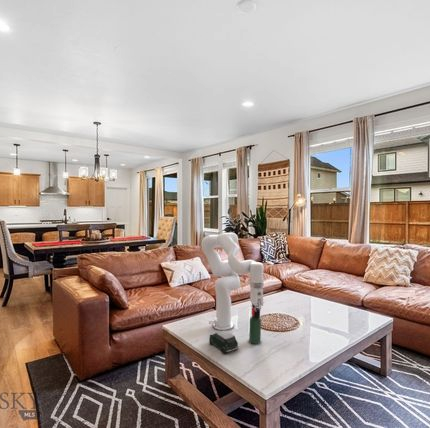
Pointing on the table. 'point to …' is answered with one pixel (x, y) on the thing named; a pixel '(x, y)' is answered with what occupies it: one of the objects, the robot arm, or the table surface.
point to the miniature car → (224, 341)
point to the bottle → (255, 330)
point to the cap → (253, 311)
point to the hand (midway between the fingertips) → (255, 316)
